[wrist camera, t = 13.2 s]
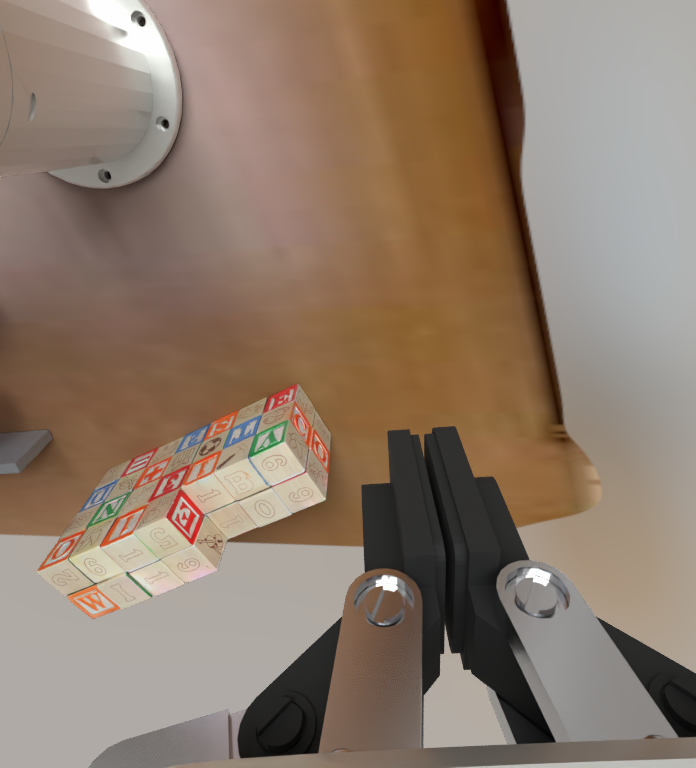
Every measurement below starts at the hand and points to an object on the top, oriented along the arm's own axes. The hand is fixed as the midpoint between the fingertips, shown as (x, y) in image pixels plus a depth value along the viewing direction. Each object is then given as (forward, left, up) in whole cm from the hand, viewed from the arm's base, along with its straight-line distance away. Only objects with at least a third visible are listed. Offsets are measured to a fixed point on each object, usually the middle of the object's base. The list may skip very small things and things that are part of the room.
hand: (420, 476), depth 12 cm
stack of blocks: (+18, -16, -28) cm, 36 cm away
